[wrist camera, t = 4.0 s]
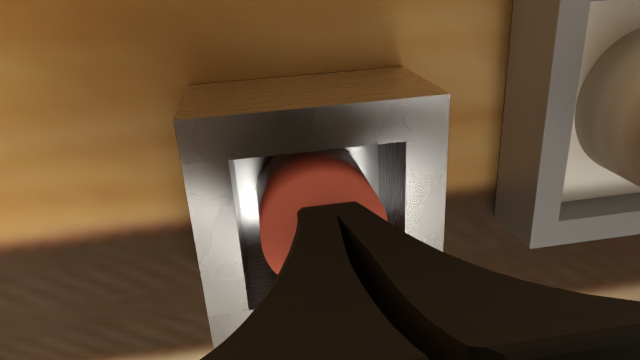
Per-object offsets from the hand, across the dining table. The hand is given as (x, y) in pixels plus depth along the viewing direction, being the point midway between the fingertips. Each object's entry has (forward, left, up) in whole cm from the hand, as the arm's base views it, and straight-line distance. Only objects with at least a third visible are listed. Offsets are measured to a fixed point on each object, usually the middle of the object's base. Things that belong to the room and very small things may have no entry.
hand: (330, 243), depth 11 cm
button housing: (0, 0, -4) cm, 4 cm away
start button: (0, 0, -3) cm, 3 cm away
